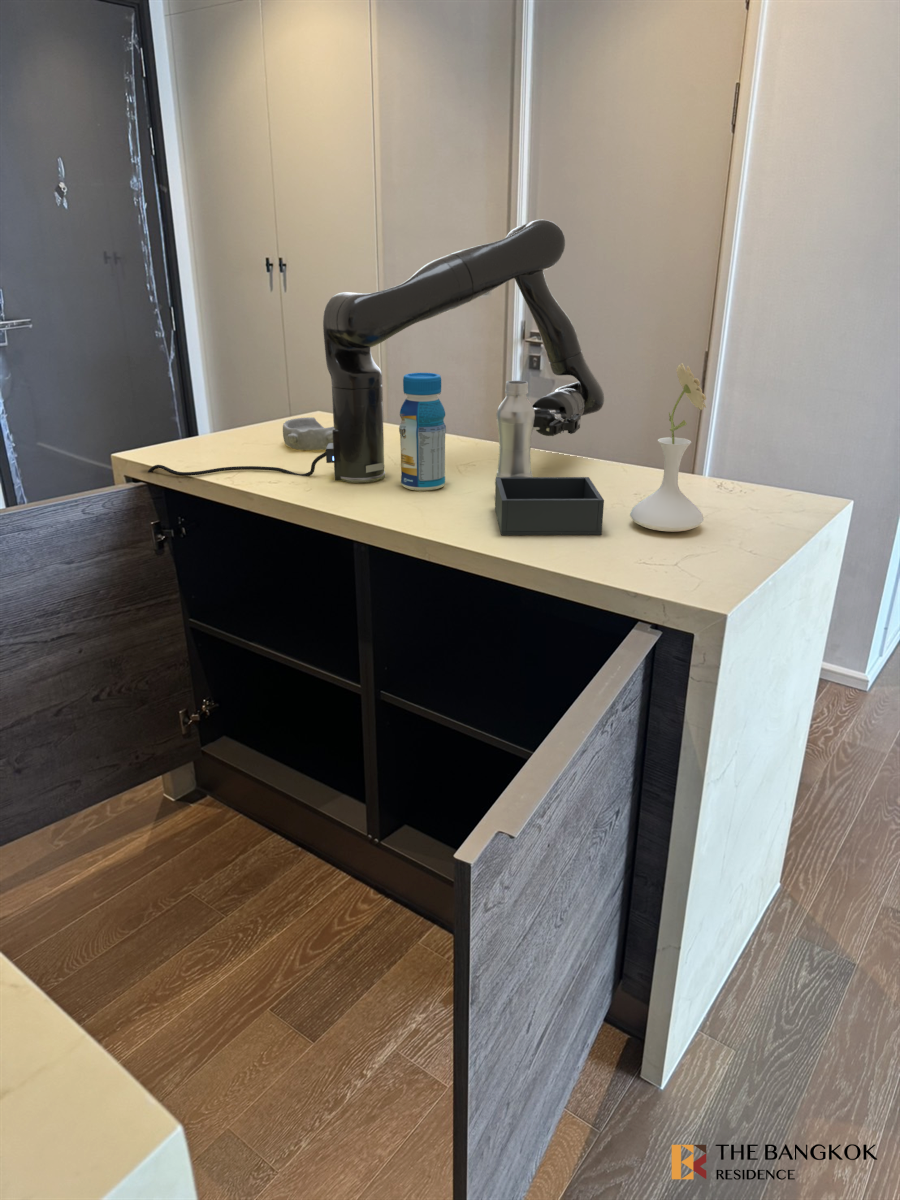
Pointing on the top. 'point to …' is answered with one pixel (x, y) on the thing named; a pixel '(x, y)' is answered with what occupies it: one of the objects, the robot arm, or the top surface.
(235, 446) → the top surface
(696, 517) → the flower in vase
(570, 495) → the black open rectangular box
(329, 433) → the dish
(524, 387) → the plastic bottle
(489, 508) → the top surface
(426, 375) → the beverage bottle
